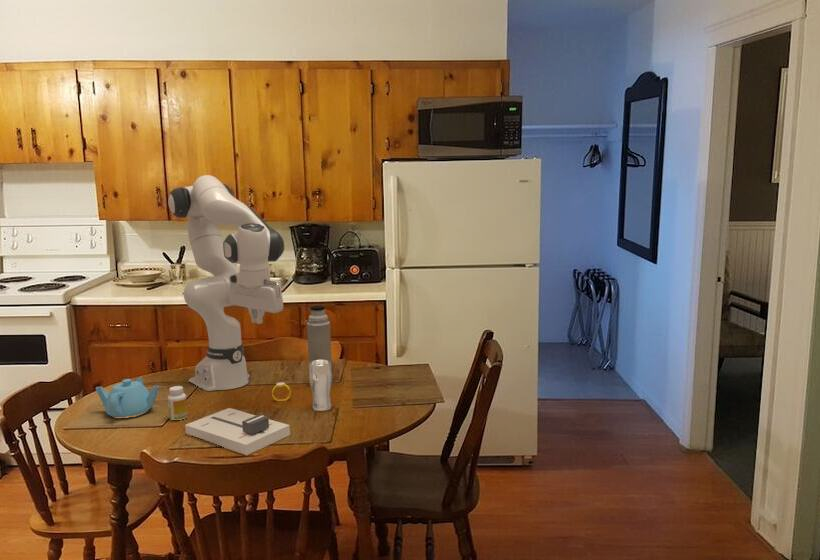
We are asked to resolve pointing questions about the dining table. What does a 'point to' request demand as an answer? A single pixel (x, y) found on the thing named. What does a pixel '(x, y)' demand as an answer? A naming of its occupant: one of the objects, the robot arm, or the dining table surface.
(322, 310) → the thermos bottle
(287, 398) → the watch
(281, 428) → the fader console
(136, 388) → the teapot
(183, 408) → the supplement bottle
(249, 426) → the fader knob
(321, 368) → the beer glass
